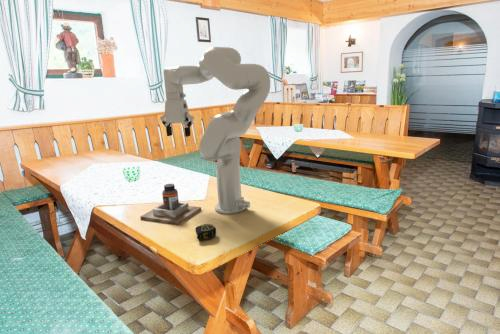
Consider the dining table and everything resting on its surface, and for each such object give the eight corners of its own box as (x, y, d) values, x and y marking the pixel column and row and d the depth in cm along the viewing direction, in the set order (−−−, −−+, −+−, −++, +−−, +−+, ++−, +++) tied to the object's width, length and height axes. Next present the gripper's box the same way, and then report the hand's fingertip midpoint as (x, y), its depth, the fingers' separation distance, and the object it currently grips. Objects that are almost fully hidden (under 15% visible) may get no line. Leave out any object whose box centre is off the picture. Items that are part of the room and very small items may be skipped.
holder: (201, 210, 146) (200, 201, 145) (178, 225, 132) (177, 215, 131) (165, 205, 153) (164, 197, 152) (140, 219, 139) (139, 210, 138)
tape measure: (195, 234, 124) (194, 224, 123) (215, 232, 125) (214, 222, 124) (197, 243, 117) (196, 232, 116) (217, 240, 118) (216, 229, 117)
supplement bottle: (162, 211, 143) (158, 184, 140) (175, 208, 146) (172, 181, 144) (168, 215, 138) (165, 188, 136) (182, 211, 142) (179, 184, 139)
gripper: (196, 95, 153) (199, 135, 157) (164, 96, 160) (167, 134, 164) (186, 97, 146) (190, 137, 151) (153, 97, 153) (157, 137, 158)
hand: (178, 136), depth 157 cm, fingers open, 9 cm apart
